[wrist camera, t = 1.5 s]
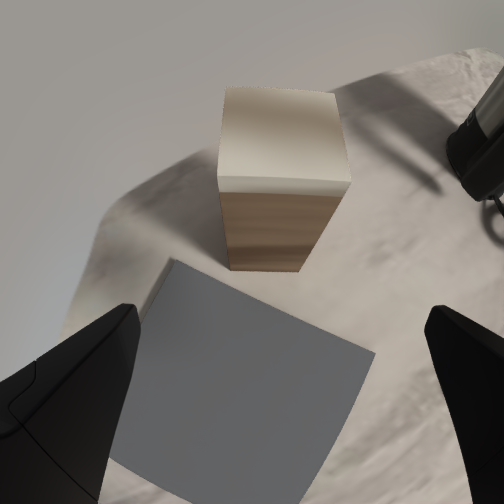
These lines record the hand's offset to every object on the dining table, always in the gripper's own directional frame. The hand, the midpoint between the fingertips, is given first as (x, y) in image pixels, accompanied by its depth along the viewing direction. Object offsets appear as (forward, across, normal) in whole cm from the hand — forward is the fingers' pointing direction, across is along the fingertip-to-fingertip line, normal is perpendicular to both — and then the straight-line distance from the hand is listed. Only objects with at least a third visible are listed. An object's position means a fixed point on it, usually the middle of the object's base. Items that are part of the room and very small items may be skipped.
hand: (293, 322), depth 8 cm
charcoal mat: (+6, +3, +13) cm, 14 cm away
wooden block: (+15, 0, +4) cm, 15 cm away
